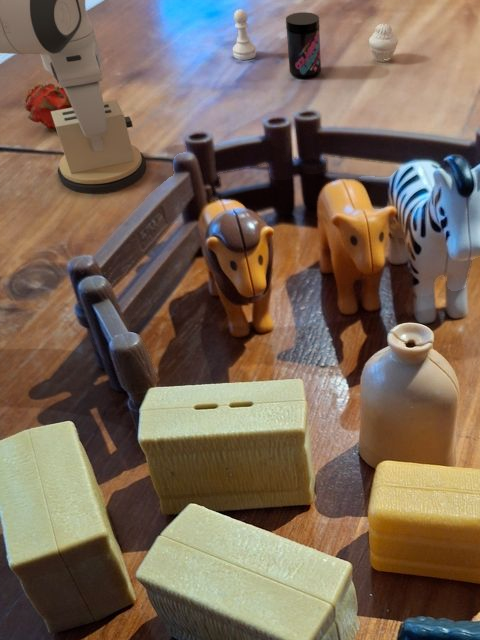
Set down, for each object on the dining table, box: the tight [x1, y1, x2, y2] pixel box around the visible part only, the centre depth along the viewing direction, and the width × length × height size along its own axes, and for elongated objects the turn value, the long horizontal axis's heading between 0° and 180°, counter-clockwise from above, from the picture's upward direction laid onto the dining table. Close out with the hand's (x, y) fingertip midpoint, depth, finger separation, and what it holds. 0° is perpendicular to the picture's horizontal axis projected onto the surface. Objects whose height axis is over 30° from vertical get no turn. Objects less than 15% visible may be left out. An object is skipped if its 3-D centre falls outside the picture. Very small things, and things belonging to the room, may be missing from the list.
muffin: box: [368, 23, 398, 63], centre depth 155 cm, size 6×6×7 cm
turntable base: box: [57, 151, 147, 194], centre depth 127 cm, size 15×15×1 cm
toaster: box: [51, 99, 142, 184], centre depth 123 cm, size 14×14×9 cm
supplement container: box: [285, 11, 322, 80], centre depth 149 cm, size 7×7×10 cm
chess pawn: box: [232, 8, 257, 61], centre depth 156 cm, size 5×5×9 cm
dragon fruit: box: [23, 83, 72, 133], centre depth 136 cm, size 8×8×12 cm
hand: (94, 139), depth 123 cm, fingers closed on toaster, 6 cm apart
